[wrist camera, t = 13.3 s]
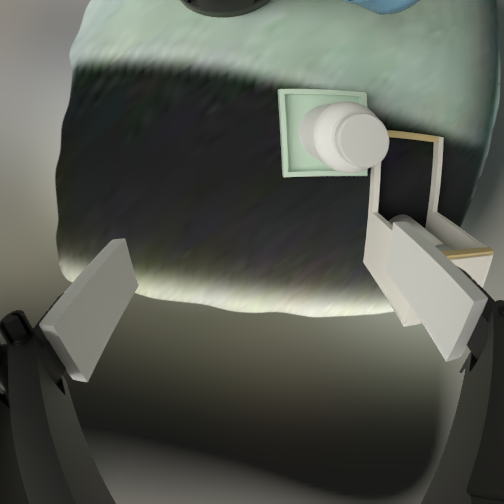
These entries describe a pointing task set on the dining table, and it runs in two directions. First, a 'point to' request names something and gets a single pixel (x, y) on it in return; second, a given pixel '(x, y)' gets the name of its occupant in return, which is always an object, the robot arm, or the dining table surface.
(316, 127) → the pill bottle
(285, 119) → the tray
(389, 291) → the dispenser
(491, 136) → the dining table surface
